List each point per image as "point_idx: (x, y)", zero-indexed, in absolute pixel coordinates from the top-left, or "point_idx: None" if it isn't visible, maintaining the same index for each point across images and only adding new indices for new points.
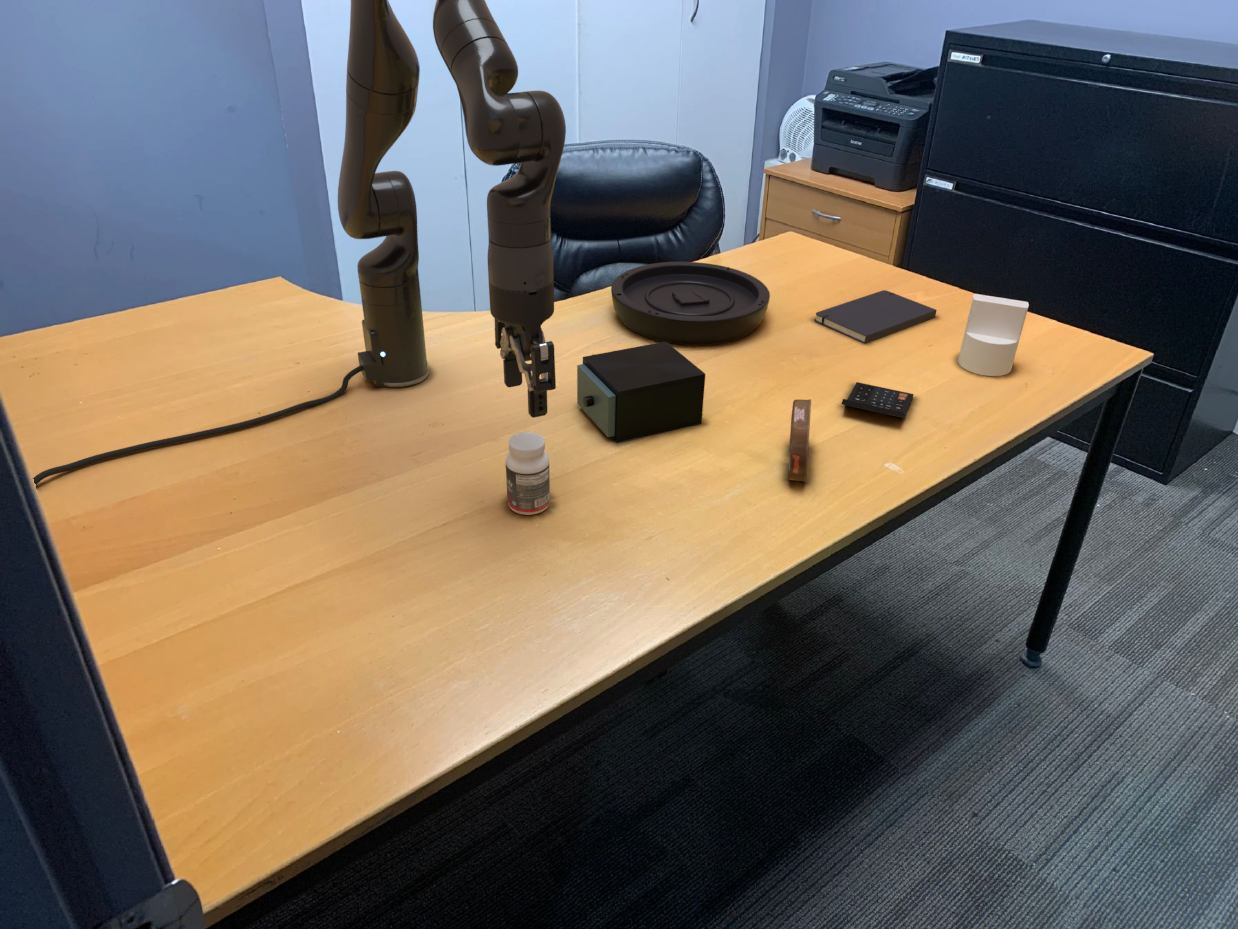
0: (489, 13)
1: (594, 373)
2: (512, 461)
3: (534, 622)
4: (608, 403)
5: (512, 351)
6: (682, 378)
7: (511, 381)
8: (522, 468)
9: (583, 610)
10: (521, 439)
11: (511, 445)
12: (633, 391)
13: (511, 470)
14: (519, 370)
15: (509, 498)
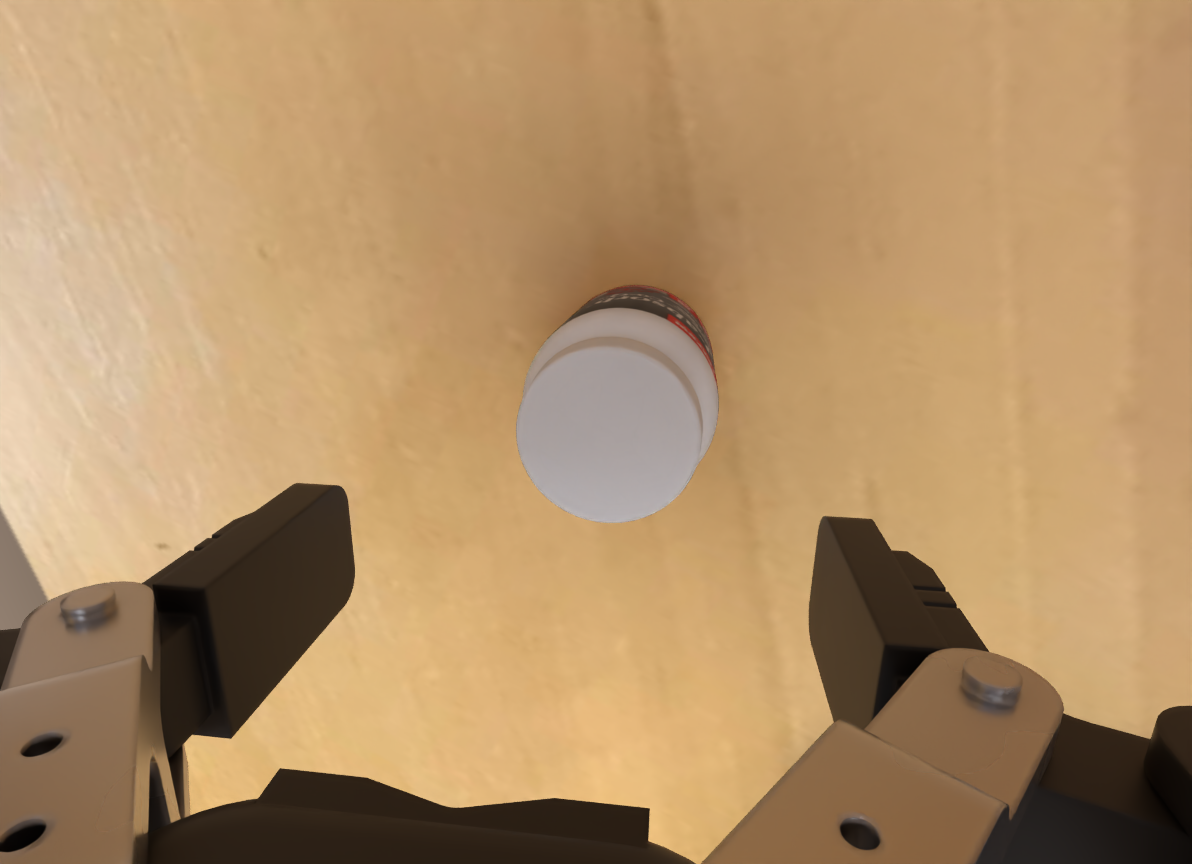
0: None
1: None
2: (594, 333)
3: (66, 134)
4: None
5: (611, 822)
6: None
7: (826, 572)
8: (540, 356)
9: (88, 289)
10: (630, 421)
11: (596, 352)
12: None
13: (583, 314)
14: (138, 658)
15: (624, 289)
